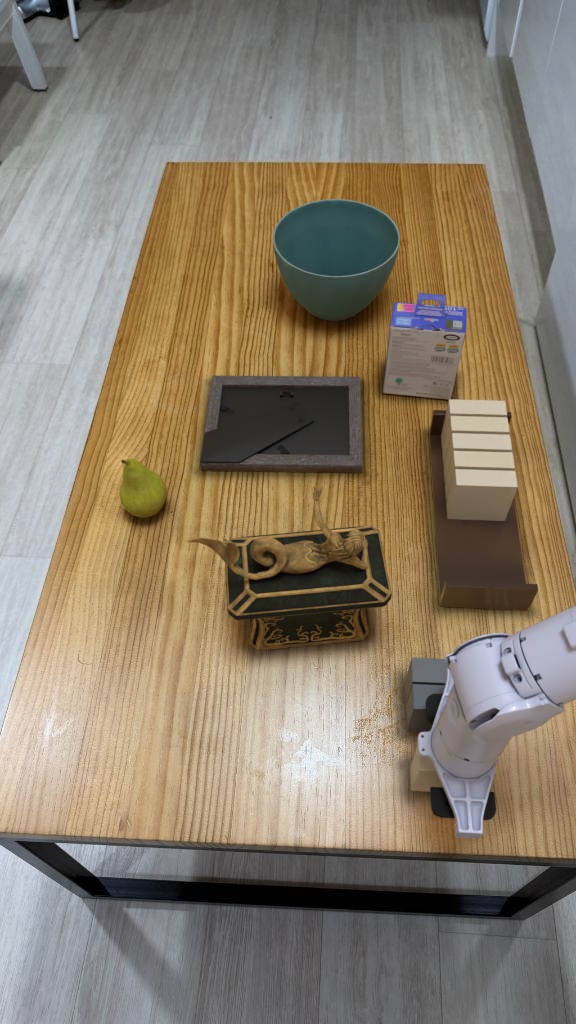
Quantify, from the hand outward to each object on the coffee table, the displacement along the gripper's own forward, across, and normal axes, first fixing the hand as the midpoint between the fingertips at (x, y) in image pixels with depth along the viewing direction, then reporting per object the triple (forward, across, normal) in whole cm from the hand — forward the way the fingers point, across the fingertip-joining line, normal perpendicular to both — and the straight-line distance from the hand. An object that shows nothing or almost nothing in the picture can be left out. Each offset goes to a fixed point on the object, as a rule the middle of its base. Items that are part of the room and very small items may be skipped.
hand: (447, 775), depth 73 cm
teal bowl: (+2, -72, -13) cm, 73 cm away
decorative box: (+2, -18, -16) cm, 24 cm away
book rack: (+2, -33, +6) cm, 33 cm away
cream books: (+1, -38, +6) cm, 39 cm away
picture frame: (+2, -47, -19) cm, 50 cm away
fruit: (+2, -32, -35) cm, 48 cm away
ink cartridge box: (+2, -55, 0) cm, 55 cm away
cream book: (+2, 0, 0) cm, 2 cm away
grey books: (+2, -8, 0) cm, 8 cm away
